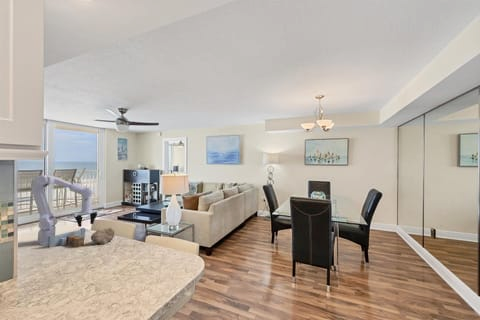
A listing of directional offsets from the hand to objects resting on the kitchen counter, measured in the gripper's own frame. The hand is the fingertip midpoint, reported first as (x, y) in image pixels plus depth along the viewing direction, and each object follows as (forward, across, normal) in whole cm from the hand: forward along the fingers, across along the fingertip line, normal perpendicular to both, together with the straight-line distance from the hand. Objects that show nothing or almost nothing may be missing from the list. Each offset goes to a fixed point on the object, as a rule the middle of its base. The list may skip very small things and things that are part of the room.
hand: (85, 225), depth 144 cm
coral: (+10, +2, -17) cm, 19 cm away
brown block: (+9, -9, -6) cm, 14 cm away
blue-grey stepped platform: (+9, -9, +1) cm, 13 cm away
